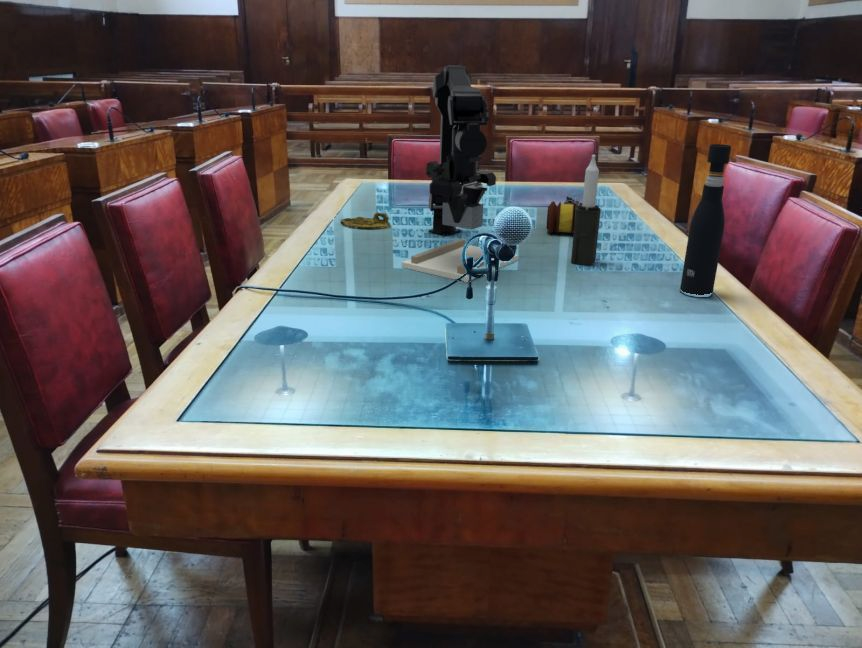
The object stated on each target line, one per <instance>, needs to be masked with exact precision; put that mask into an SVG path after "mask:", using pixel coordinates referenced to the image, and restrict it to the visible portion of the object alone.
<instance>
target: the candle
mask: <svg viewBox="0 0 862 648" xmlns="http://www.w3.org/2000/svg"><path fill="white" fill-rule="evenodd" d="M596 157H597V156H596V155H595V154H592V155H591V160H590V163H589V164H588V166H587V167H586V169H585V173H584V183H583V184H584V185H583V193H582V195H583V196H582V202H581V203H582V204H580V205H579V204H578V205H579V206H578V208H577V209H576V213H575V224H574V232H573V234H572V247H571V257H570V258H571V259H570V263H571V264H573V265H581V266H586V267H591V266H593V265H594V264H595V263H596V260H597V259H596V258H597V257H596V256H597V249H598V239H599V229H600V220H601V213H602V212H601V211H602V209H601V208H600V206H599V205H596V203H597V192H598V183H599V173H600V170H599V168H598V166H597V161H596Z"/></svg>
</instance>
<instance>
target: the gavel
mask: <svg viewBox="0 0 862 648" xmlns="http://www.w3.org/2000/svg"><path fill="white" fill-rule="evenodd" d="M582 203H583V202H580V201H579V199H576V200H575V199H573V198H572V197H569V196H566V200H565V201H564V202H563V203H562V201H559V202H558V205H557V203H556V202H555V201H554V200H553V201H551V202H550V204H549V205H548V206H547V212H546V214H547V215H546V226H545V227H546V230H547V231H548V234H550V235H551V234H553V233H554V231H556V234H557V235H559V233H568V234H569V233H570V235H571V236H573V235H574V224H575V213H576V209H577V208H578V206H579V205H580V204H582Z"/></svg>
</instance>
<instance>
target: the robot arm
mask: <svg viewBox="0 0 862 648" xmlns="http://www.w3.org/2000/svg"><path fill="white" fill-rule="evenodd" d="M467 72H468V71H467V66H463V65H450V64H449V65H447V66H444V68H443V71H441V72H440V73H438V74H436V75H435V76H434V80H433V84H432V97H433V98H434V103H435V106H436V107H437V109H438V111H439V112H440V133H439V136H440V137H439V162H437V160H434V161H429V162H427V163H426V169H425V175H426V176H427V177H428V178H430V179H431V182H430V183H429V196H428V209H429V210H430V212H433V216H432V228H431V229H428V232H429V233H433V234H439V235H445V236H449V235H452V234H457V233H459V232H461V228H457V227H454V226H448V225H443V224H442V216H443V202H448V204H449V207H450V210H451V214H452V217H453V220H454V222H455V223H459V221H460V218H461V215H462V212H463V208H464V205H465V201H466V202H472V203H479V204H480V202H481V200H482V199H483V197H484V195H485V193H486V192H487V191H488V187H491V186H492V187H493V186H496V185H497V183H496V181H497V176H496V174H495V173H494V172H493V171H485V170H478V162H479V161H482V154H483V153H484V152H485V151H486V148H487V147H488V146H487V145H488V141H487V138H486V135H485V134H484V132H483V131H481V130H480V129H481V126H487V125H488V122H489V118H490V116H489V114H490V113H489V109H488V102H487V100H486V97H485V95H484V96H483V92H482V91H481V90H480V89H479V88H477V87H473V86H472V84H471V82H470V76H469V75H468V73H467ZM483 184H486V186H487V187H484V186H483Z"/></svg>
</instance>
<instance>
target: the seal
mask: <svg viewBox="0 0 862 648" xmlns="http://www.w3.org/2000/svg"><path fill="white" fill-rule="evenodd" d="M380 217H381V218H382V219H381V218H380ZM340 224H341V225H342V227H345V228H347V227H348V228H347V229H353V230H355V229H356V230H364V231H366V230H367V231H376V230H377V231H378V230H388V229H391V223H390V222H389V215H388V213H385V212H375V214H374V215H373V217H371V218H370V217H362V216H357V217H355V218H354V217H353V218H352V217H351V218H350V217H348V218H342V219H340Z"/></svg>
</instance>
